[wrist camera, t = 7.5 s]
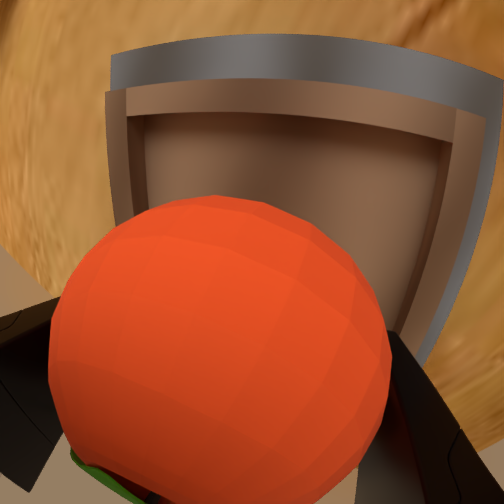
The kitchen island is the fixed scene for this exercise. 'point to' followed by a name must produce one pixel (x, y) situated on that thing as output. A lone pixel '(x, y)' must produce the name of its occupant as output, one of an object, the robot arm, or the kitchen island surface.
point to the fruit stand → (319, 151)
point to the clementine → (218, 357)
